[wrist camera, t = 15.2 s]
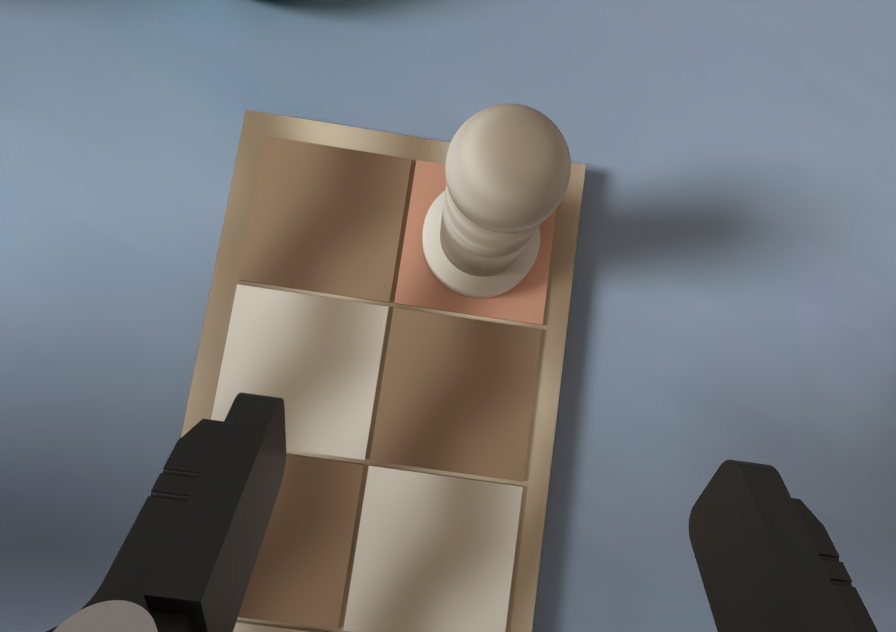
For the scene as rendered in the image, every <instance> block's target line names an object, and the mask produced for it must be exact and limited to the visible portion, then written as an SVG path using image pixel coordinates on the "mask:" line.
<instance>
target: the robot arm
mask: <svg viewBox="0 0 896 632" xmlns="http://www.w3.org/2000/svg"><path fill="white" fill-rule="evenodd" d="M285 463H286V431H285V406H284V400H283V398H279V397H272V396H264V395H257V394H249V393H242V392H241V393H239V394H238V395H237V396H236V398H235V399H234V401H233V403H232V406H231V408H230V410H229V412H228V414H227V416H226V418H225V421H217V420H209V419H202V420H201V421H200V422H198V423H197V424H196V425H195V426H194V427H193V428H192V429H191V430H189V431H188V432H187V433H186V434H185V435H184V436H183V437H181V438H180V439H179V440H178V442H177V443H176V445H175V447H174V449H173V451H172V453H171V455H170V457H169V459H168V460H167V462H166V464H165V466H164V470H163V473H161V474H160V475H159V477H158V479H157V481H156V483H155V485H154V487H153V489H152V492H151V496H150V497H149V496H148V498H147V500H146V502H145V504H144V506H143V508H142V509H141V511H140V513H139V515H138V517H137V519H136V521H135V523H134V524H133V526H132V528H131V530H130V532H129V534H128V536H127V538H126V540H125V541H124V543H123V545H122V547H121V549H120V551H119V553H118V555H117V557H116V558H115V560H114V562H113V564H112V566H111V568H110V570H109V572H108V573H107V575H106V577H105V579H104V581H103V583H102V584H101V586H100V588H99V589H98V591H97V592H96V594H95V595H94V596H93V597H92V599H91V600H90V601H89V602H88V603H87V604H86V605H85V606H84V607H83V608H82V609H81V610H80V611H78V612H76V613H75V614H73V615H72V616H70V617H69V618H67V619H66V620H65V621H64V622H63V623H61V624H60V625H59V626H57V627H55V628H53V629H51V630H49V631H47V632H233V630H234V627H235V624H236V621H237V618H238V615H239V612H240V609H241V606H242V603H243V600H244V597H245V593H246V590H247V587H248V584H249V581H250V578H251V575H252V572H253V569H254V566H255V563H256V560H257V557H258V554H259V551H260V548H261V545H262V542H263V539H264V535H265V532H266V529H267V526H268V523H269V520H270V517H271V514H272V511H273V508H274V505H275V502H276V499H277V496H278V493H279V490H280V486H281V483H282V479H283V475H284V469H285ZM689 535H690V541H691V544H692V548H693V551H694V554H695V558H696V561H697V564H698V567H699V571H700V574H701V577H702V581H703V584H704V587H705V591H706V594H707V597H708V601H709V604H710V607H711V610H712V614H713V617H714V620H715V624H716V627H717V630H718V632H878V631H877V629H876V627H875V625H874V623H873V621H872V619H871V617H870V615H869V613H868V611H867V609H866V608H865V606H864V604H863V602H862V600H861V598H860V596H859V594H858V592H857V590H856V588H855V587H852V585H851V582H852V580H851V578H850V576H849V574H848V572H847V570H846V568H845V566H844V564H843V562H839V555H838V553H837V551H836V549H835V547H834V545H833V543H832V541H831V539H830V537H829V535H828V533H827V531H826V529H825V527H824V526H823V525H822V524H821V522H820V521H819V520H818V519H817V518H816V517H815V516H814V515H813V513H812V512H811V511H810V510H809V509H808V508H807V507H806V506H805V504H804V503H803V502H802V501H801V500H800V499H794V498H791V497H790V495H789V492H788V490H787V488H786V486H785V484H784V482H783V480H782V478H781V476H780V474H779V472H778V471H777V470H776V469H775V468H774V467H772V466H770V465H765V464H757V463H750V462H743V461H735V460H726V461H724V462H723V463H722V464H721V466H720V467H719V468H718V470H717V471H716V473H715V474H714V476H713V477H712V479H711V480H710V482H709V483H708V485H707V486H706V488H705V489H704V491H703V492H702V494H701V495H700V497H699V498H698V500H697V501H696V503H695V504H694V506H693V508H692V510H691V514H690V518H689Z"/></svg>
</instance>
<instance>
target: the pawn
mask: <svg viewBox="0 0 896 632" xmlns="http://www.w3.org/2000/svg"><path fill="white" fill-rule="evenodd" d="M570 173H571V160H570V154H569V149H568V146H567V143H566V141H565V139H564V137H563V135H562V133H561V132H560V130H559V129H558V127H557V126H556V125H555V124H554V123H553V122H552V121H551V120H550V119H549V118H548V117H547V116H545V115H544V114H542V113H541V112H539V111H537V110H535V109H533V108H530V107H528V106H524V105H519V104H501V105H495V106H491V107H488V108H486V109H483V110H481V111H479V112H478V113H476V114H475V115H473V116H472V117H471V118H469V119H468V120H467V121H466V122H465V123H464V124H463V125H462V126H461V127H460V128H459V130H458V131H457V132H456V134H455V136H454V137H453V139H452V141H451V143H450V146H449V149H448V152H447V156H446V162H445V178H446V189H445V191H444V192H442V193H441V194H440V195H439V196H438V197H437V198H436V199H435V201H434V202H433V203H432V205H431V206H430V208H429V210H428V212H427V215H426V217H425V221H424V225H423V233H422V248H423V254H424V258H425V261H426V263H427V266H428V268H429V270H430V271H431V273H432V275H433V276H434V277H435V278H436V279H437V281H438V282H440V283H441V284H442V285H443V286H444V287H445V288H447V289H448V290H450V291H452V292H454V293H455V294H458V295H461V296H464V297H468V298H475V299H485V298H492V297H495V296H499V295H501V294H503V293H506V292H507V291H509V290H511V289H512V288H513V287H515V286H516V285H517V284H518V283H519V282H520V281H521V280H522V279H523V278H524V277H525V275H526V274H527V273H528V272H529V270H530V269H531V268H532V266H533V264H534V262H535V260H536V258H537V255H538V252H539V247H540V228H539V226H540V225H541V223H542V222H543V221H544V220H545V219H546V218H547V217H548V216H550V215H551V213H552V212H553V211H554V210H555V209H556V208H557V207H558V205H559V204H560V202H561V201H562V199H563V197H564V195H565V193H566V190H567V187H568V184H569V180H570Z"/></svg>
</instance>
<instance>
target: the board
mask: <svg viewBox="0 0 896 632" xmlns="http://www.w3.org/2000/svg"><path fill="white" fill-rule="evenodd" d="M449 146H450V142H443V141H437V140H431V139H425V138H418V137H412V136H406V135H400V134H394V133H387V132H381V131H375V130H369V129H362V128H356V127H350V126H344V125H337V124H331V123H325V122H319V121H313V120H306V119H300V118H294V117H288V116H281V115H275V114H269V113H263V112H256V111H250V110H246V112H245V117H244V122H243V127H242V132H241V137H240V142H239V147H238V152H237V157H236V162H235V167H234V172H233V177H232V182H231V187H230V192H229V197H228V202H227V207H226V212H225V217H224V222H223V227H222V233H221V238H220V243H219V248H218V253H217V258H216V263H215V268H214V273H213V278H212V283H211V288H210V293H209V298H208V303H207V308H206V313H205V318H204V323H203V328H202V333H201V338H200V343H199V348H198V354H197V359H196V364H195V369H194V374H193V379H192V384H191V389H190V394H189V399H188V404H187V409H186V414H185V419H184V424H183V429H182V434H181V437H183V436H184V435H185V434H186V433H187V432H188V431H189V430H191V429H192V428H193V427H194V426H195V425H196V424H197V423H198V422H200V421H201V420H202V419H209V420H217V421H225V418H226V416H227V414H228V412H229V410H230V408H231V406H232V403H233V401H234V399H235V398H236V396H237V395H238V394H239V393H241V392H242V393H249V394H257V395H264V396H272V397H279V398H283V400H284V406H285V431H286V463H285V469H284V475H283V479H282V483H281V486H280V490H279V493H278V496H277V499H276V502H275V505H274V508H273V511H272V514H271V517H270V520H269V523H268V526H267V529H266V532H265V535H264V539H263V542H262V545H261V548H260V551H259V554H258V557H257V560H256V563H255V566H254V569H253V572H252V575H251V578H250V581H249V584H248V587H247V590H246V593H245V597H244V600H243V603H242V606H241V609H240V612H239V615H238V618H237V621H236V624H235V627H234V630H233V632H532V626H533V618H534V609H535V600H536V592H537V583H538V574H539V566H540V557H541V548H542V540H543V531H544V522H545V514H546V505H547V497H548V488H549V479H550V471H551V462H552V453H553V445H554V436H555V427H556V419H557V410H558V401H559V393H560V384H561V376H562V367H563V358H564V350H565V341H566V332H567V324H568V315H569V306H570V298H571V289H572V281H573V272H574V263H575V255H576V246H577V237H578V229H579V220H580V211H581V203H582V194H583V185H584V177H585V168H586V164H580V163H574V162H571V173H570V180H569V184H568V187H567V190H566V193H565V195H564V197H563V199H562V201H561V202H560V204H559V205H558V207H557V208H556V209H555V210H554V211H553V212H552V213H551V215H550V216H548V217H547V218H546V219H545V220H544V221H543V222H542V223H541V225H540V226H539V228H540V247H539V252H538V255H537V258H536V260H535V262H534V264H533V266H532V268H531V269H530V270H529V272H528V273H527V274H526V275H525V277H524V278H523V279H522V280H521V281H520V282H519V283H518V284H517V285H516V286H515V287H513V288H512V289H511V290H509V291H507V292H506V293H503V294H501V295H499V296H495V297H492V298H485V299H475V298H468V297H464V296H461V295H458V294H455V293H454V292H452V291H450V290H448V289H447V288H445V287H444V286H443V285H442V284H441V283H440V282H438V281H437V279H436V278H435V277H434V276H433V275H432V273H431V271H430V270H429V268H428V266H427V263H426V261H425V258H424V254H423V248H422V233H423V225H424V221H425V217H426V215H427V212H428V210H429V208H430V206H431V205H432V203H433V202H434V201H435V199H436V198H437V197H438V196H439V195H440V194H441V193H442V192H444V191H445V189H446V178H445V162H446V156H447V152H448V149H449Z"/></svg>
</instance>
